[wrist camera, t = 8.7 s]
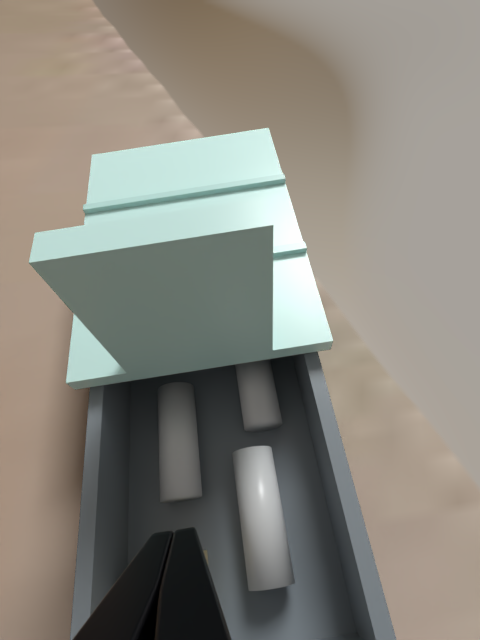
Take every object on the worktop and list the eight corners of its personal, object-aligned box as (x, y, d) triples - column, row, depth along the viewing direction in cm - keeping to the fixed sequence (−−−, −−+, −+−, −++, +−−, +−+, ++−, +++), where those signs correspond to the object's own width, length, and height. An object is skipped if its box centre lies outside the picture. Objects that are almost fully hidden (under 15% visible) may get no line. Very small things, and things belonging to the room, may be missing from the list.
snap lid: (330, 349, 16) (375, 209, 9) (74, 389, 16) (-74, 278, 9) (268, 139, 23) (267, -21, 17) (97, 166, 23) (26, 16, 17)
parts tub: (374, 647, 14) (408, 683, 10) (114, 689, 14) (62, 740, 10) (295, 329, 21) (300, 289, 18) (123, 356, 21) (94, 321, 18)
